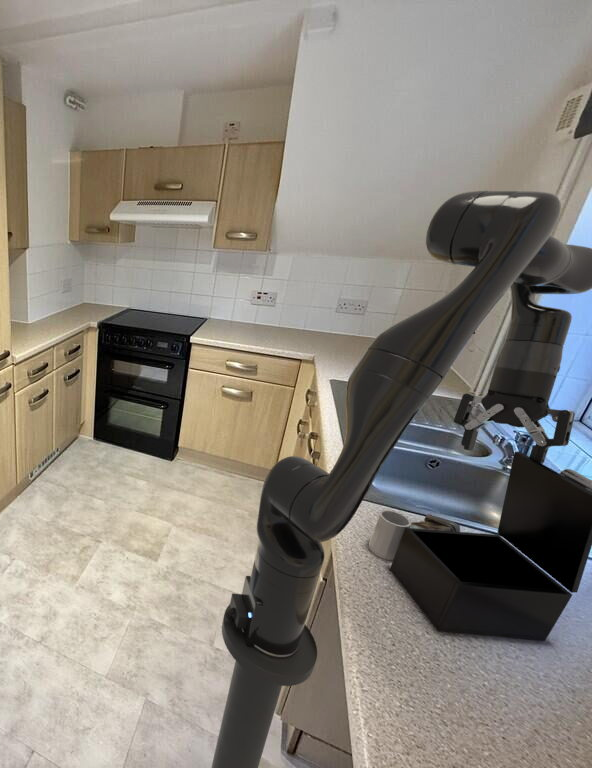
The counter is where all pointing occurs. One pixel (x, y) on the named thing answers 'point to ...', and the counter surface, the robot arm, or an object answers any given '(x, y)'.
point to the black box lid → (549, 518)
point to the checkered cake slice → (436, 524)
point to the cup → (388, 533)
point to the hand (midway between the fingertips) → (498, 457)
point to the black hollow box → (477, 584)
